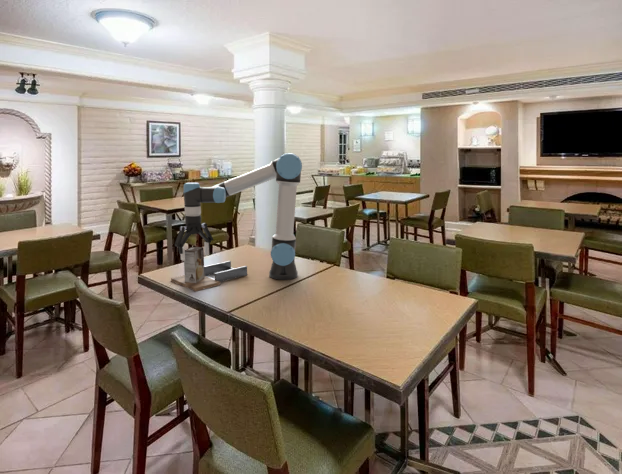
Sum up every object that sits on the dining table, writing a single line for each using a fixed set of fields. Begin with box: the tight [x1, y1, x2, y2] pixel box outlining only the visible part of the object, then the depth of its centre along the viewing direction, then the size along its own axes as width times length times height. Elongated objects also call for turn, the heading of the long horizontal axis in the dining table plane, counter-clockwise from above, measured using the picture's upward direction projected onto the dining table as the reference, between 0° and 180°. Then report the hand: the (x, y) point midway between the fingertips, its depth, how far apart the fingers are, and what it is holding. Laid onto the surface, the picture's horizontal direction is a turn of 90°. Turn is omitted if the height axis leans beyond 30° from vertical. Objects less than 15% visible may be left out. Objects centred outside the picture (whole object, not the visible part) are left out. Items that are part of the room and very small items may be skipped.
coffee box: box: [183, 246, 205, 283], centre depth 204 cm, size 9×6×16 cm
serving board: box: [170, 274, 221, 292], centre depth 206 cm, size 22×14×2 cm, turn 49°
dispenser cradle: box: [204, 260, 248, 283], centre depth 219 cm, size 15×20×5 cm
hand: (195, 257), depth 204 cm, fingers open, 13 cm apart
